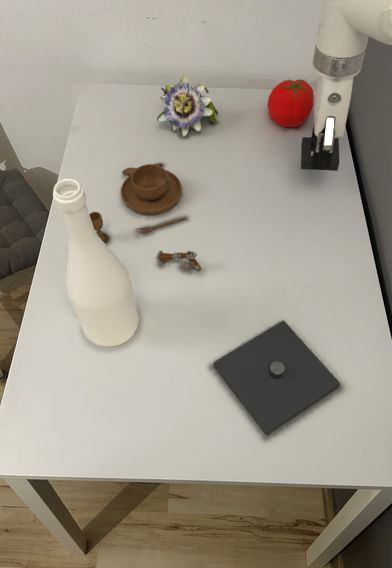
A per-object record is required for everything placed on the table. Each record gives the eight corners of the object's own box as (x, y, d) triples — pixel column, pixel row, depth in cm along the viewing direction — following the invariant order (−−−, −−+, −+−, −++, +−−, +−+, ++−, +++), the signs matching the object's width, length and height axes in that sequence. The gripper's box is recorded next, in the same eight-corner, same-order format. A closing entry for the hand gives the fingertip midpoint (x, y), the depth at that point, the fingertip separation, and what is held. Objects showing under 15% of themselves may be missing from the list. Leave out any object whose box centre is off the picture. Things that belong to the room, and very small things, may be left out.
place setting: (196, 217, 96) (195, 194, 91) (96, 249, 93) (89, 226, 88) (165, 160, 104) (163, 136, 99) (72, 187, 101) (65, 163, 96)
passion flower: (186, 155, 113) (152, 125, 103) (180, 117, 116) (147, 85, 107) (228, 130, 107) (196, 96, 97) (221, 90, 110) (189, 54, 101)
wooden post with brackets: (203, 273, 88) (192, 255, 85) (166, 273, 92) (155, 256, 89) (206, 265, 89) (196, 247, 86) (170, 266, 93) (159, 249, 90)
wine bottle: (77, 311, 86) (19, 172, 60) (130, 295, 87) (95, 151, 61) (91, 356, 81) (34, 227, 55) (146, 338, 83) (117, 203, 57)
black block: (336, 147, 94) (338, 137, 92) (337, 171, 91) (339, 161, 89) (301, 145, 95) (302, 136, 93) (300, 169, 91) (302, 160, 90)
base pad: (282, 324, 83) (284, 314, 81) (338, 387, 78) (343, 378, 75) (213, 366, 80) (213, 356, 77) (266, 435, 74) (268, 428, 71)
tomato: (257, 123, 109) (261, 87, 102) (284, 100, 113) (290, 63, 106) (293, 140, 106) (299, 104, 99) (319, 116, 110) (327, 79, 103)
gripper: (366, 91, 72) (341, 188, 87) (360, 26, 81) (339, 125, 96) (313, 90, 73) (298, 186, 88) (313, 26, 81) (299, 124, 97)
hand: (319, 153), depth 92 cm, fingers closed on black block, 6 cm apart
